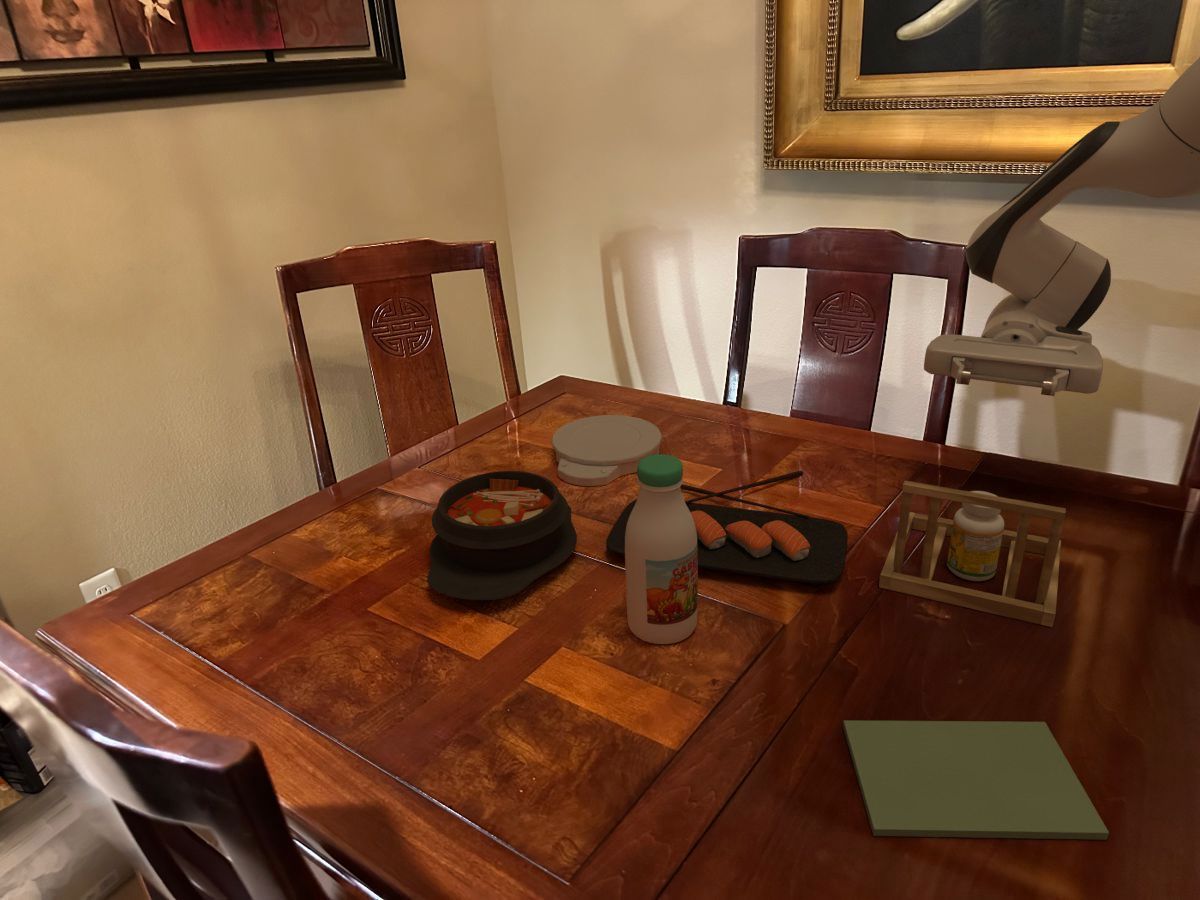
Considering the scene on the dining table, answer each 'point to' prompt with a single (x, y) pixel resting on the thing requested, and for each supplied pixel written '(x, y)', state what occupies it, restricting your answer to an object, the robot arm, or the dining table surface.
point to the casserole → (498, 535)
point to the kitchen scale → (603, 448)
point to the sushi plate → (758, 539)
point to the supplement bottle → (975, 541)
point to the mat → (969, 781)
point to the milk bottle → (661, 555)
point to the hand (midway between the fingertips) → (1005, 384)
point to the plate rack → (1016, 541)
